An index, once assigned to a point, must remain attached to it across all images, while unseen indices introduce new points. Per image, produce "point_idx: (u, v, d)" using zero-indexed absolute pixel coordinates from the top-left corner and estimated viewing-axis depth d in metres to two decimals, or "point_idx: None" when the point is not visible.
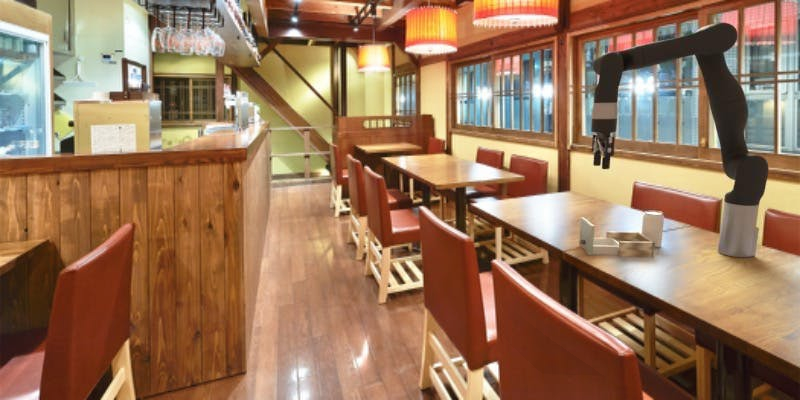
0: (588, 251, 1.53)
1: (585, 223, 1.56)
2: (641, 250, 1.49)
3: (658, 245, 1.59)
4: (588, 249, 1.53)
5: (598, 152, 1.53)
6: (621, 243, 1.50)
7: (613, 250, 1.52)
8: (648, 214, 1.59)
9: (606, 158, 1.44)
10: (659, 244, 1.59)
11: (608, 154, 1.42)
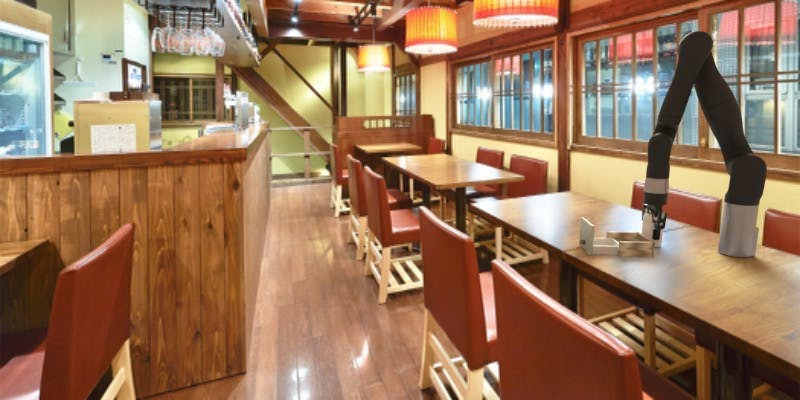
0: (588, 251, 1.53)
1: (585, 223, 1.56)
2: (641, 250, 1.49)
3: (658, 245, 1.59)
4: (588, 249, 1.53)
5: None
6: (621, 243, 1.50)
7: (613, 250, 1.52)
8: (648, 214, 1.59)
9: (657, 230, 1.56)
10: (659, 244, 1.59)
11: (659, 227, 1.55)
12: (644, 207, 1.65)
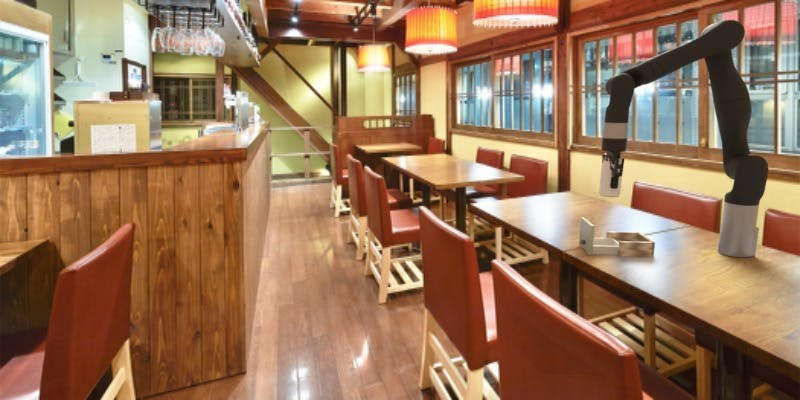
0: (588, 251, 1.53)
1: (585, 223, 1.56)
2: (641, 250, 1.49)
3: (616, 194, 1.51)
4: (588, 249, 1.53)
5: None
6: (621, 243, 1.50)
7: (613, 250, 1.52)
8: (606, 161, 1.51)
9: (615, 178, 1.48)
10: (617, 193, 1.51)
11: (617, 174, 1.46)
12: (604, 156, 1.57)
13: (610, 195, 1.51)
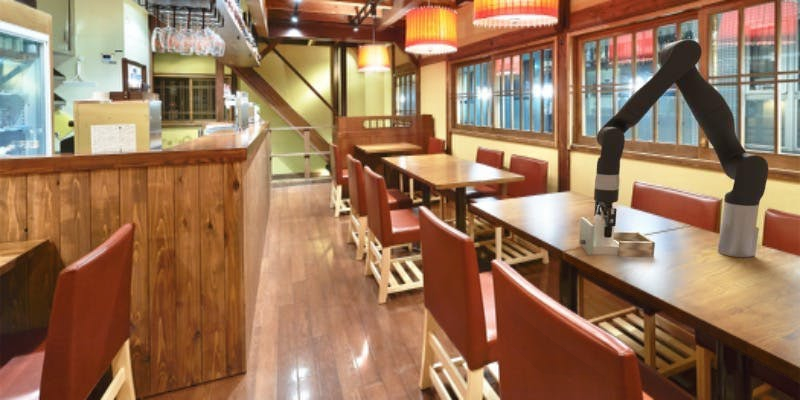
0: (588, 251, 1.53)
1: (585, 223, 1.56)
2: (641, 250, 1.49)
3: None
4: (588, 249, 1.53)
5: None
6: (621, 243, 1.50)
7: (613, 250, 1.52)
8: (598, 215, 1.53)
9: (608, 227, 1.50)
10: None
11: (610, 225, 1.48)
12: (597, 203, 1.60)
13: None
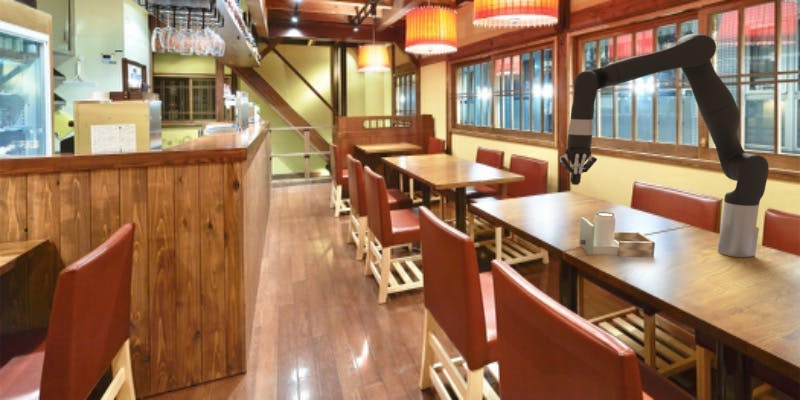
0: (588, 251, 1.53)
1: (585, 223, 1.56)
2: (641, 250, 1.49)
3: None
4: (588, 249, 1.53)
5: (578, 170, 1.54)
6: (621, 243, 1.50)
7: (613, 250, 1.52)
8: (599, 215, 1.53)
9: (571, 174, 1.55)
10: None
11: (567, 169, 1.54)
12: None
13: None
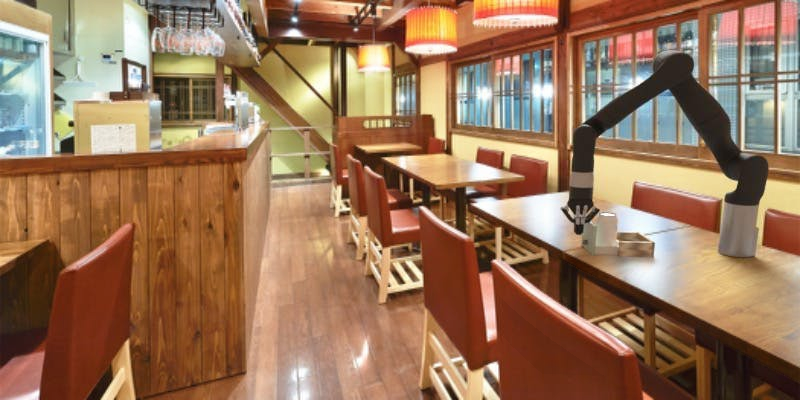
0: (590, 251, 1.53)
1: (587, 223, 1.56)
2: (641, 250, 1.49)
3: None
4: (590, 249, 1.53)
5: (580, 220, 1.56)
6: (621, 243, 1.50)
7: (615, 250, 1.52)
8: (601, 215, 1.53)
9: (574, 224, 1.57)
10: None
11: (569, 220, 1.57)
12: None
13: None
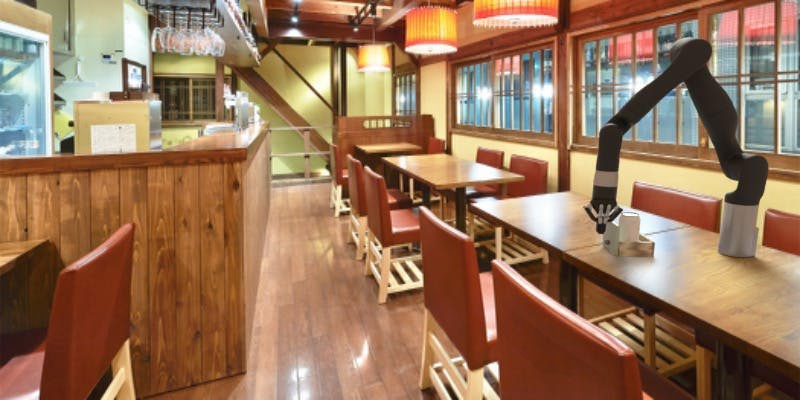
0: (613, 251, 1.52)
1: (609, 223, 1.55)
2: (641, 250, 1.49)
3: None
4: (613, 249, 1.52)
5: (603, 220, 1.55)
6: (621, 243, 1.50)
7: None
8: (624, 216, 1.53)
9: (596, 223, 1.56)
10: None
11: (591, 219, 1.56)
12: None
13: None
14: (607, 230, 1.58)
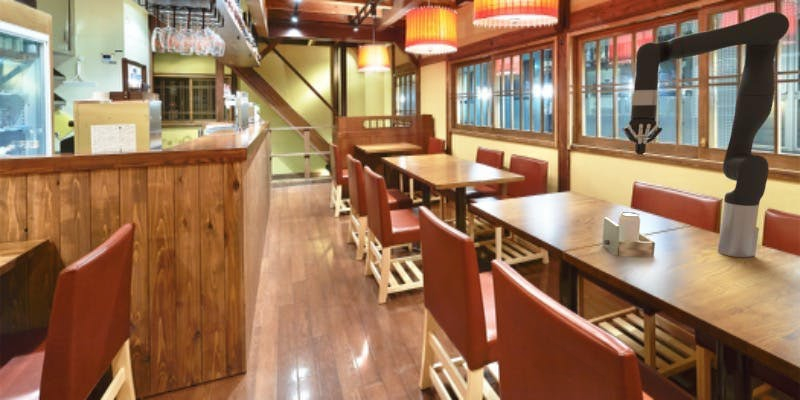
0: (613, 251, 1.52)
1: (609, 223, 1.55)
2: (641, 250, 1.49)
3: None
4: (613, 249, 1.52)
5: (642, 140, 1.58)
6: (621, 243, 1.50)
7: None
8: (624, 216, 1.53)
9: (636, 144, 1.59)
10: None
11: (631, 140, 1.59)
12: None
13: None
14: (607, 230, 1.58)
